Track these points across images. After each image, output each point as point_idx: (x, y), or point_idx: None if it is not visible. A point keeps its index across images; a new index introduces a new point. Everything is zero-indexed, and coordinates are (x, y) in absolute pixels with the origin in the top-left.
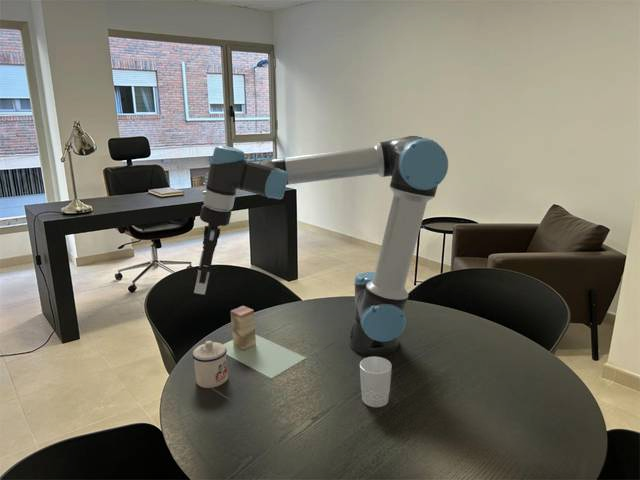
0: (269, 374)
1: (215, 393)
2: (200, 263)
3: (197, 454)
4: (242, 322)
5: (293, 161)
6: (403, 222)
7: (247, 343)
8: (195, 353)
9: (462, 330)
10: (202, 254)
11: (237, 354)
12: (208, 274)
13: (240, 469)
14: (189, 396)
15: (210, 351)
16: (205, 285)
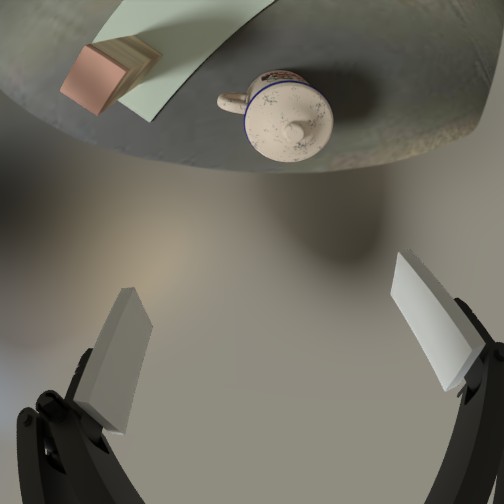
0: None
1: (330, 91)
2: (139, 364)
3: (455, 122)
4: (132, 64)
5: None
6: None
7: (148, 49)
8: (305, 156)
9: None
10: (126, 412)
11: (177, 65)
12: (471, 329)
13: (487, 79)
14: None
15: (316, 122)
16: (435, 284)
